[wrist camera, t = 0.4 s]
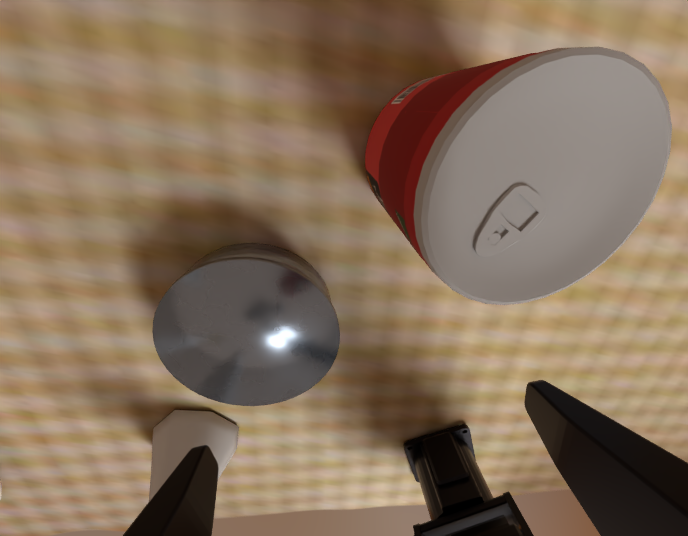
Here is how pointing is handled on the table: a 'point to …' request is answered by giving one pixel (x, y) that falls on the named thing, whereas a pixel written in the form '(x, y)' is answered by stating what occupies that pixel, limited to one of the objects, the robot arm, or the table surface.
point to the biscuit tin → (248, 326)
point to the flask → (189, 442)
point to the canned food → (522, 168)
